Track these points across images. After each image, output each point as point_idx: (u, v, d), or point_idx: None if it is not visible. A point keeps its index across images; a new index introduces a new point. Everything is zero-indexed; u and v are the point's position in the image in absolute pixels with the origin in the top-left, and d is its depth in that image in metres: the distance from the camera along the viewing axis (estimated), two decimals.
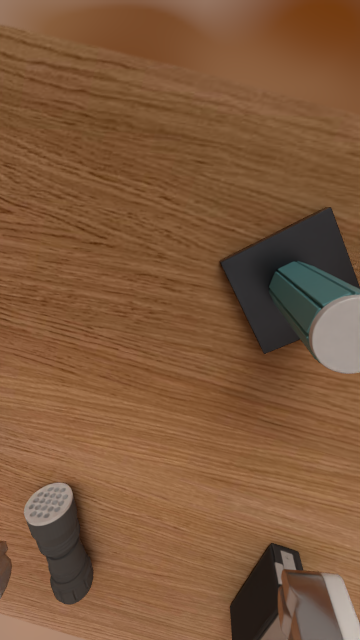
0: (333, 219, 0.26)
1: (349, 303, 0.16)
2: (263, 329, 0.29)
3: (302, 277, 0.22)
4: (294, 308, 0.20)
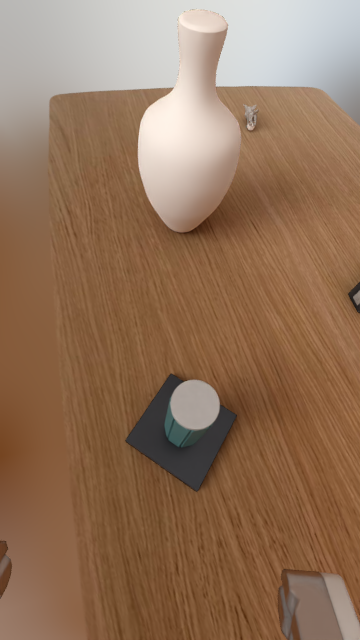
0: (131, 433, 0.37)
1: (180, 420, 0.27)
2: (221, 427, 0.38)
3: (177, 437, 0.32)
4: (198, 434, 0.30)
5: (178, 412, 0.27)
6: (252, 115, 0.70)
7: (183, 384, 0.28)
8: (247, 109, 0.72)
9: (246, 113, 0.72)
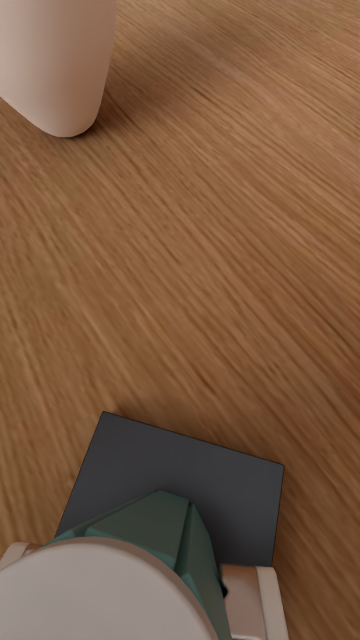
0: None
1: None
2: (258, 513, 0.15)
3: None
4: None
5: None
6: None
7: None
8: None
9: None
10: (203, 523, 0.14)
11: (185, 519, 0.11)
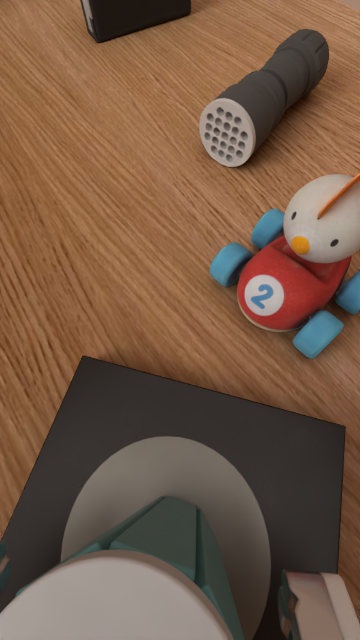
0: None
1: None
2: None
3: None
4: None
5: None
6: None
7: (5, 627, 0.05)
8: None
9: None
10: (210, 528, 0.15)
11: (195, 526, 0.11)
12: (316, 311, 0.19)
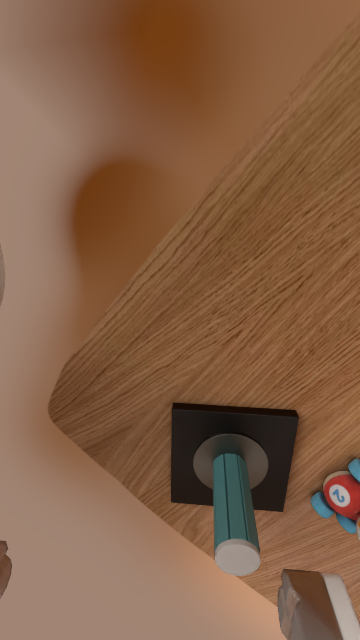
0: None
1: (218, 556, 0.30)
2: None
3: (213, 500, 0.37)
4: None
5: (222, 553, 0.30)
6: None
7: (248, 548, 0.30)
8: None
9: None
10: None
11: None
12: (334, 508, 0.42)
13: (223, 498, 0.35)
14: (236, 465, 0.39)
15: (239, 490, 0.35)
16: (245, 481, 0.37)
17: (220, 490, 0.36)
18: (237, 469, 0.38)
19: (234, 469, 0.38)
